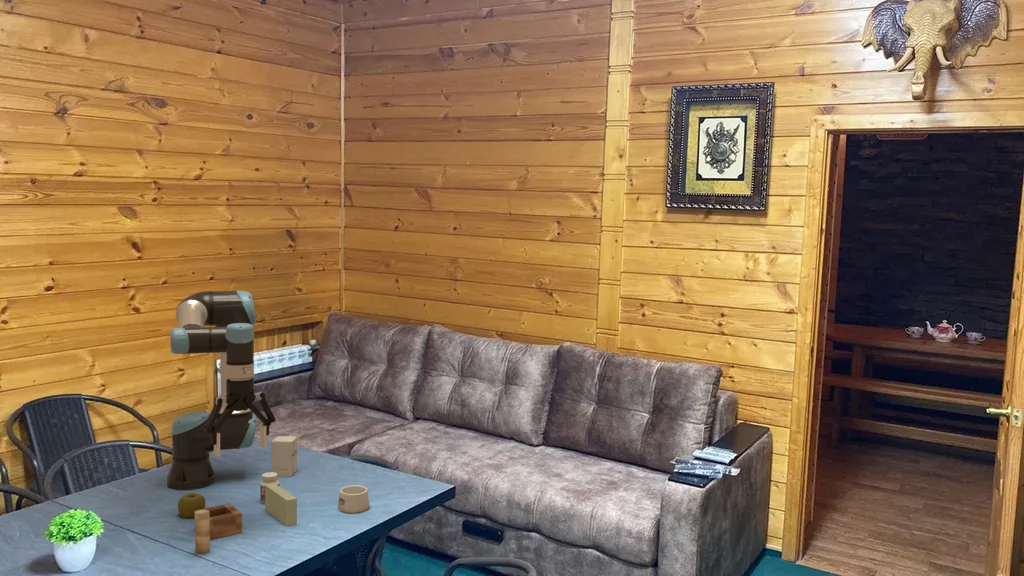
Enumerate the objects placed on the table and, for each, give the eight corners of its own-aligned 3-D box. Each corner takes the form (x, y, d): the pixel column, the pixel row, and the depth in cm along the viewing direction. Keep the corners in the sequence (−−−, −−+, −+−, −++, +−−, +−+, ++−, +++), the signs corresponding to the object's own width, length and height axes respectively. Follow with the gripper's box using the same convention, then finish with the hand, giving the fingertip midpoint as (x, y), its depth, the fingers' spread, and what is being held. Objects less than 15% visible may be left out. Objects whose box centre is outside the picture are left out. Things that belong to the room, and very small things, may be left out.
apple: (189, 525, 233) (188, 501, 232) (172, 519, 237) (171, 496, 236) (211, 517, 239) (211, 494, 238) (194, 511, 243) (194, 489, 243)
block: (194, 529, 227) (194, 510, 226) (229, 521, 233) (229, 503, 233) (206, 540, 219) (206, 521, 219) (242, 532, 225) (242, 513, 225)
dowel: (193, 555, 213) (193, 511, 212) (207, 551, 215) (206, 508, 214) (198, 560, 210) (197, 516, 209) (211, 556, 212) (211, 513, 211)
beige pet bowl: (375, 509, 250) (375, 490, 249) (348, 516, 243) (349, 497, 242) (354, 498, 258) (354, 480, 258) (327, 505, 252) (328, 487, 251)
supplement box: (291, 477, 277) (291, 441, 275) (270, 476, 277) (270, 441, 276) (297, 470, 284) (297, 435, 283) (276, 469, 284) (276, 435, 283)
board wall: (180, 532, 227) (180, 502, 226) (274, 511, 245) (274, 483, 244) (199, 552, 215) (198, 519, 214) (296, 528, 233) (296, 498, 232)
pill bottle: (273, 509, 247) (273, 478, 246) (256, 507, 248) (256, 476, 247) (282, 502, 252) (282, 472, 252) (266, 501, 254) (266, 470, 253)
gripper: (200, 385, 215) (201, 462, 217) (287, 375, 231) (287, 446, 233) (190, 381, 220) (191, 455, 222) (275, 371, 237) (275, 440, 239)
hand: (240, 451), depth 228 cm, fingers open, 13 cm apart
